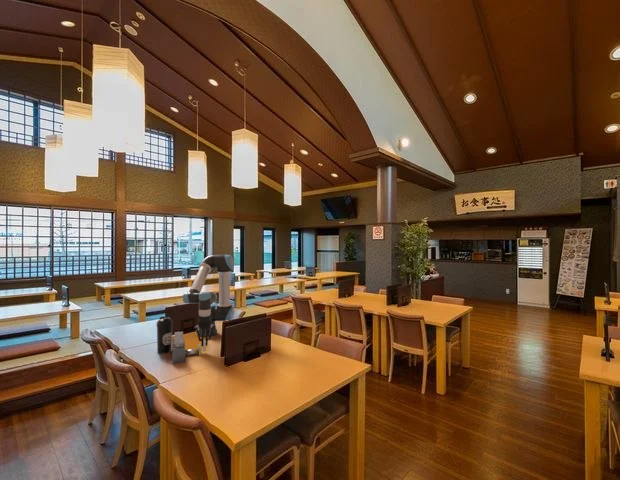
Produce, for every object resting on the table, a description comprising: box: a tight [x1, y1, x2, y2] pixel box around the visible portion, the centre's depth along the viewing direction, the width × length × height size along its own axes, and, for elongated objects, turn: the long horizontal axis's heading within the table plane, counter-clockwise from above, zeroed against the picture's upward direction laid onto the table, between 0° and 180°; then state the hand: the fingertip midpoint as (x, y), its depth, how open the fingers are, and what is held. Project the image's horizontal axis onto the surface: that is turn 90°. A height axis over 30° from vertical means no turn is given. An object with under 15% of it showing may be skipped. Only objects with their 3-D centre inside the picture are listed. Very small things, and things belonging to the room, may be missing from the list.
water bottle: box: [156, 315, 174, 354], centre depth 207 cm, size 10×10×23 cm
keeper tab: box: [174, 331, 184, 346], centre depth 191 cm, size 1×5×8 cm, turn 115°
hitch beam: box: [171, 337, 186, 365], centre depth 196 cm, size 22×7×11 cm, turn 25°
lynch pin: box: [185, 342, 203, 357], centre depth 201 cm, size 10×7×6 cm, turn 115°
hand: (204, 350), depth 204 cm, fingers closed
